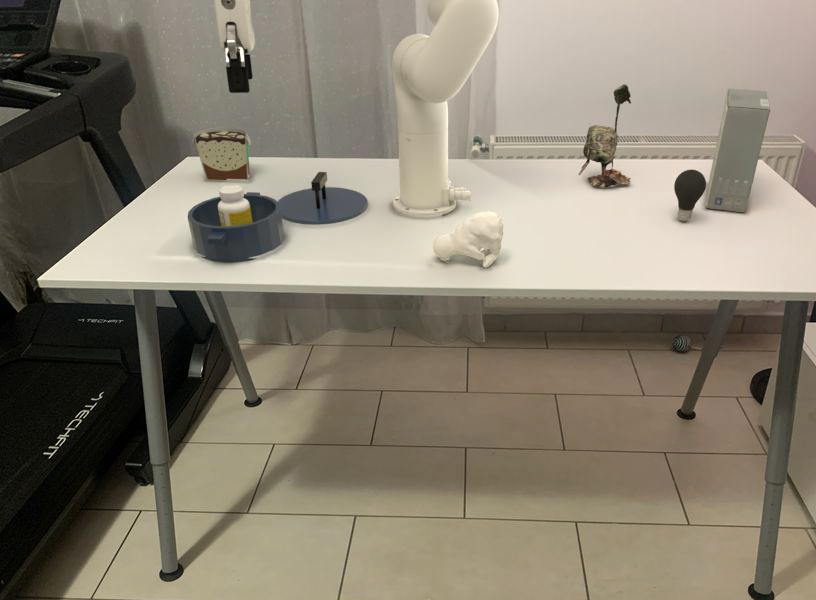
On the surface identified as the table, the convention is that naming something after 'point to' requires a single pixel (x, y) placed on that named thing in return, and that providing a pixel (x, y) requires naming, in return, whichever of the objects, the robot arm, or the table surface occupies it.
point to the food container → (223, 153)
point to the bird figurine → (605, 147)
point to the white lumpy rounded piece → (473, 239)
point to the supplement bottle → (233, 206)
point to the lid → (322, 203)
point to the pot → (236, 230)
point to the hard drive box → (737, 149)
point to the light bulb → (688, 192)
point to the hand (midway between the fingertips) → (241, 85)
